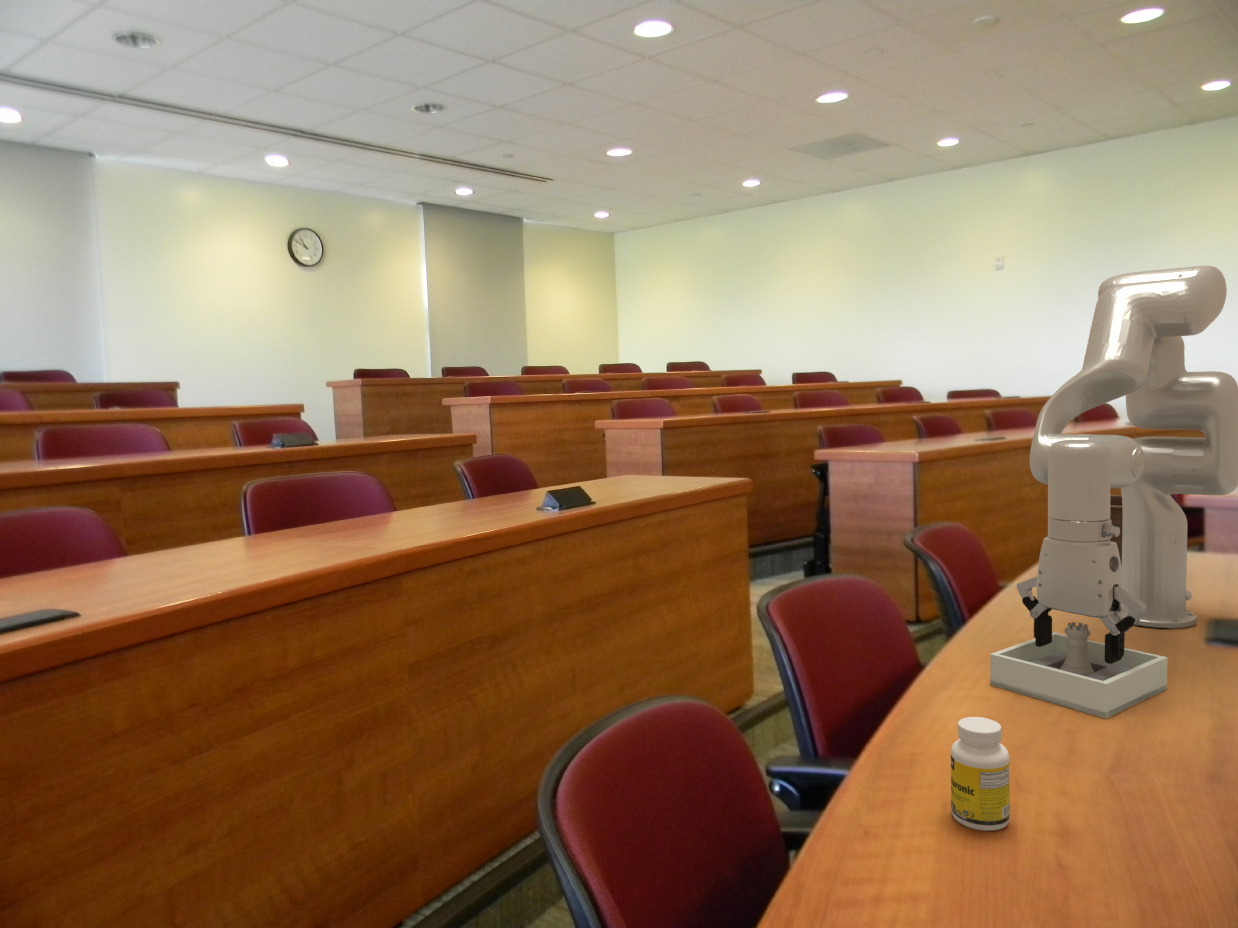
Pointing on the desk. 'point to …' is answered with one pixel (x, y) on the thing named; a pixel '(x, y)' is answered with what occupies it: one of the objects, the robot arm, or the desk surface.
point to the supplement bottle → (980, 775)
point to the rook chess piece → (1077, 649)
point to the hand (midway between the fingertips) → (1077, 652)
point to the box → (1079, 676)
